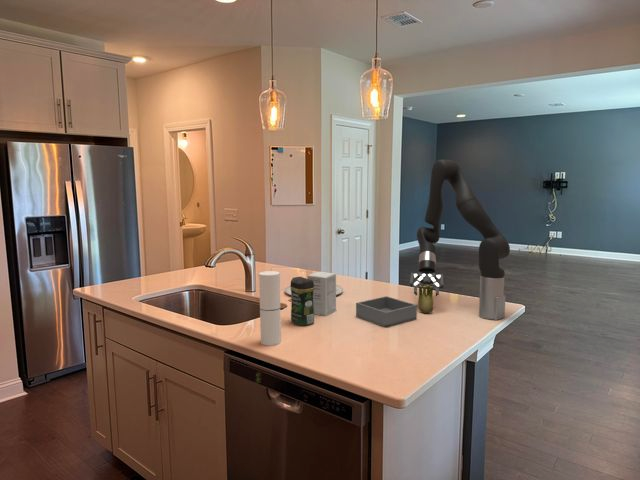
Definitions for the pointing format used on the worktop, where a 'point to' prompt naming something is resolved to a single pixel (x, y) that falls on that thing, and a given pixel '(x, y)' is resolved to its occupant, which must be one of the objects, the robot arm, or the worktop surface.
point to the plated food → (338, 290)
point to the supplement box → (324, 292)
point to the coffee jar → (302, 301)
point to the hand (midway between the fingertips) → (426, 294)
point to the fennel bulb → (425, 299)
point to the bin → (386, 311)
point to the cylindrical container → (270, 307)
